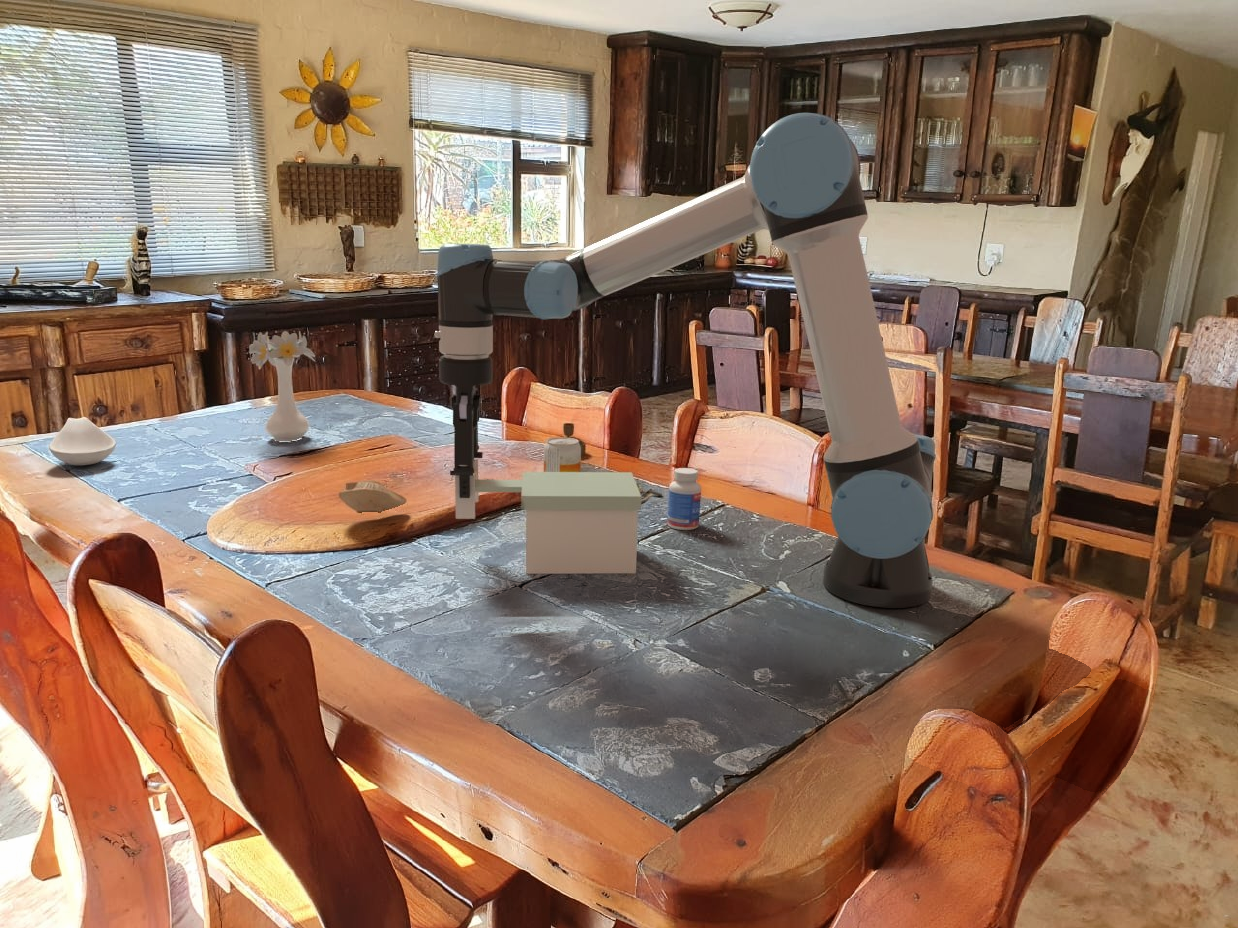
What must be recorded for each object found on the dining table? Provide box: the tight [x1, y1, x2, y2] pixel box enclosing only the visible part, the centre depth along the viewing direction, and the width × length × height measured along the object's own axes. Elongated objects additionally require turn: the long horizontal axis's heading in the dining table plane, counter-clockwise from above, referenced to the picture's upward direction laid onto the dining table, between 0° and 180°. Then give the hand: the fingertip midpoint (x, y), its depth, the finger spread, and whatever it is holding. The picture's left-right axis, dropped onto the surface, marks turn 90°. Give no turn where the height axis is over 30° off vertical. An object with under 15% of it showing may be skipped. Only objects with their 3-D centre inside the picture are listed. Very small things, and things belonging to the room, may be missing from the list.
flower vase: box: [248, 330, 316, 442], centre depth 206 cm, size 13×18×25 cm
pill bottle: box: [667, 467, 702, 531], centre depth 156 cm, size 6×5×10 cm
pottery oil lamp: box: [338, 480, 408, 514], centre depth 156 cm, size 9×12×7 cm
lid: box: [466, 465, 642, 511], centre depth 136 cm, size 26×13×4 cm, turn 95°
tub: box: [525, 510, 639, 575], centre depth 138 cm, size 16×12×11 cm
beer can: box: [543, 436, 582, 472], centre depth 152 cm, size 6×6×15 cm
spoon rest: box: [48, 416, 117, 466], centre depth 190 cm, size 24×12×7 cm, turn 34°
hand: (467, 509), depth 136 cm, fingers closed on lid, 8 cm apart
